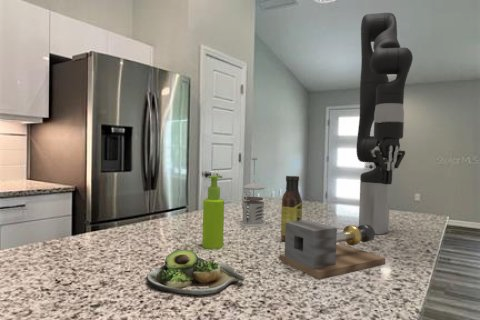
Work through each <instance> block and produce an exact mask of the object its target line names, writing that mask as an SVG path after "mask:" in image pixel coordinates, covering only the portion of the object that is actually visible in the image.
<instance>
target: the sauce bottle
mask: <svg viewBox="0 0 480 320" xmlns="http://www.w3.org/2000/svg"><path fill="white" fill-rule="evenodd" d="M285 181H286V182H285V183H286V185H285V192H284V193H283V195H282V197H281V198H282V199H281V212H280V213H281V215H280V217H281V219H280V221H281V222H280V236H281V237H280V239H281V240H282V241H283V242H285V224H286V222H292V221H301V220H303V219H302V218H303V201H302V197H301V194H300V189H299V181H300V176H299V175H285Z"/></svg>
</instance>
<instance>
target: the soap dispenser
mask: <svg viewBox="0 0 480 320" xmlns="http://www.w3.org/2000/svg"><path fill="white" fill-rule="evenodd" d="M222 178H223V176H222V175H220V174H212V175H210V176H209V177H208V179H210V180H211V181H210V186H209V187H207V198H204V199H203V200H202V205H203V206H202V236H201V237H202V244H201V245H202V248H204V249H207V250H218V249H221V248H223V247H224V228H225V227H224V223H225V222H224V220H225V219H224V218H225V200H224V199H223V198H220V197H221V188H220V187H219V186H218V179H222Z"/></svg>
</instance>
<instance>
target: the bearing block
mask: <svg viewBox="0 0 480 320" xmlns="http://www.w3.org/2000/svg"><path fill="white" fill-rule="evenodd" d="M337 233H338V229H337V227H335V226H332V225H328V224H324V223H321V222H317V221H313V220H310V219H302V220H301V221H292V222H286V224H285V241H284V253H280V254H279V257H278V258H279V261H280V260H281V261H280V262H282V263H284V264H285V265H289V266H290V267H292V268H295V269H297V270H299V271H301V272H304V273H305V274H307V275H309V276H312V277H314V278H316V279H318V280H320V279H325V278H329V277H334V276H339V275H343V274H347V273H351V272H356V271H360V270H364V269H369V268H374V267H377V266H382V265H385V264H386V258H385V257H383V256H380V255H377V254H374V253H371V252H367V251H365V250H362V249H359V248H356V247H353V246H351V245H348V244H347V245H346V244H343V243H340V244H339V243H338V244H337V243H336V239H337Z"/></svg>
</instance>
